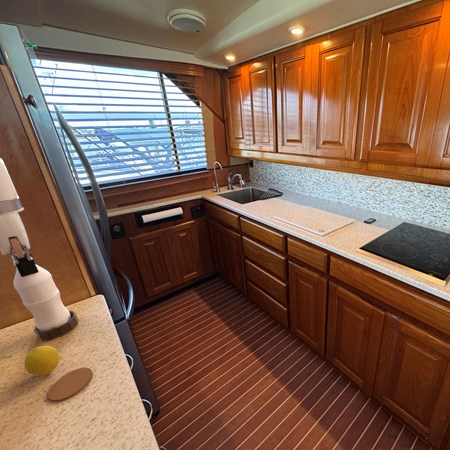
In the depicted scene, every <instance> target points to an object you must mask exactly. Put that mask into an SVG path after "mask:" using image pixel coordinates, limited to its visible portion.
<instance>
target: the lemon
mask: <svg viewBox="0 0 450 450" xmlns="http://www.w3.org/2000/svg"><path fill="white" fill-rule="evenodd" d="M59 362H60V353H59V351H58V349H56V348H55V347H54V346H51V345H40V346H37V347H34V348H33V349H32V350H30V351H29V352H28V353H27V355H26V356H25V359H24V368H25V370H26V371H27V373H28V374H30V375H32V376H36V377H37V376H38V377H39V376H44V375H47V374H50V373H51V372H52V371H53V370H55V368H56V367H58V364H59Z"/></svg>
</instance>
